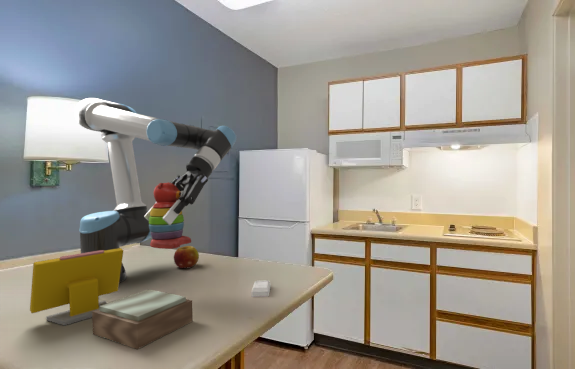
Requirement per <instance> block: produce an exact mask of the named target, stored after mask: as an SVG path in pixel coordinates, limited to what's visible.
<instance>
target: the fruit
mask: <svg viewBox="0 0 575 369" xmlns="http://www.w3.org/2000/svg"><path fill="white" fill-rule="evenodd" d="M199 257H200V255H199V251H198V250H197V249H196V247H194V246H192V245H186V246H182V247H181V246H180V247H178V248H176V250H175V251H174V254H173V262H174V264H175V265H176V266H177V267H178V268H180V269H189V268H192V267H194V266H195V265H196V264H197V263H198V262H199V259H200V258H199Z"/></svg>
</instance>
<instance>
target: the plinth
mask: <svg viewBox="0 0 575 369" xmlns="http://www.w3.org/2000/svg"><path fill="white" fill-rule="evenodd" d="M193 313H194V312H193V300H191V299H188V298H187V297H186V296H183V295H178V294H174V293H168V292H164V291H160V290H159V291H158V290H154V289H148V288H147V289H146V290H142V291H140V292H136V293H135V294H130V295H128V296H125V297H122V298H119V299H117V300H113V301H111V302H107V304H104V305H101V306H99V309H98V310H95V311H92V318H91V319H92V322H91V323H92V335H94V336H97V335H98V337H100V336H101V337H100V338H103V337H105V338H107V339H106V340H108V339H110V340H109V341H111V340H113V341H112V342H114V341H116V342H115V343H117V342H119V343H118V344H120V343H121V345H123V344H124V346H126V345H127V346H126V347H129V348H132V349H136V350H139V349H141V348H143V347H144V346H147V345H149V344H151V343H153V342H154V341H157V340H159V339H161V338H162V337H165V336H167V335H169V334H171V333H172V332H174V331H177V330H178V329H181V328H182V327H184V326H186V325H188V324H191V323H192V322H193V319H194V318H193ZM105 338H104V339H105Z"/></svg>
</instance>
